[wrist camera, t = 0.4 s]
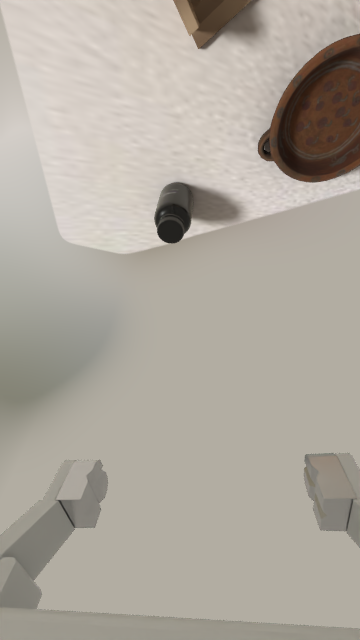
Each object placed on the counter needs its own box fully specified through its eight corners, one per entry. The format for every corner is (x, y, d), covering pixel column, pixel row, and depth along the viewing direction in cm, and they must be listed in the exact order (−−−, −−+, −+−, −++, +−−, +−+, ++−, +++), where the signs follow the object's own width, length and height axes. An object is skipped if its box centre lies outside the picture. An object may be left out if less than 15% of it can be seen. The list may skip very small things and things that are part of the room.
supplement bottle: (170, 174, 51) (163, 205, 44) (200, 193, 54) (198, 227, 46) (153, 203, 56) (145, 236, 48) (181, 220, 59) (177, 254, 51)
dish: (241, 87, 41) (243, 95, 38) (420, -19, 33) (443, -20, 29) (268, 191, 53) (271, 204, 50) (405, 134, 44) (420, 145, 41)
